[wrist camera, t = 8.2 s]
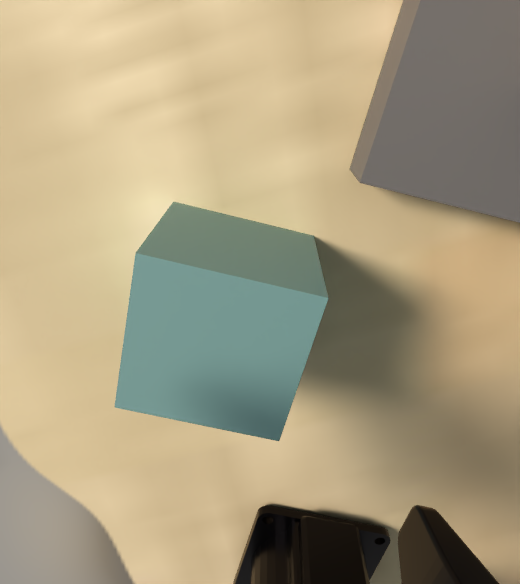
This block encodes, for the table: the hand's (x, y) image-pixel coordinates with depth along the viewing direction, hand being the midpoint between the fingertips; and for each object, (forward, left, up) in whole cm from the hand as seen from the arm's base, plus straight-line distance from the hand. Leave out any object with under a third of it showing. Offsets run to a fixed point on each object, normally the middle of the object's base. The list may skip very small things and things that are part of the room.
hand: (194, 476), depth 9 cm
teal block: (0, 0, -9) cm, 9 cm away
